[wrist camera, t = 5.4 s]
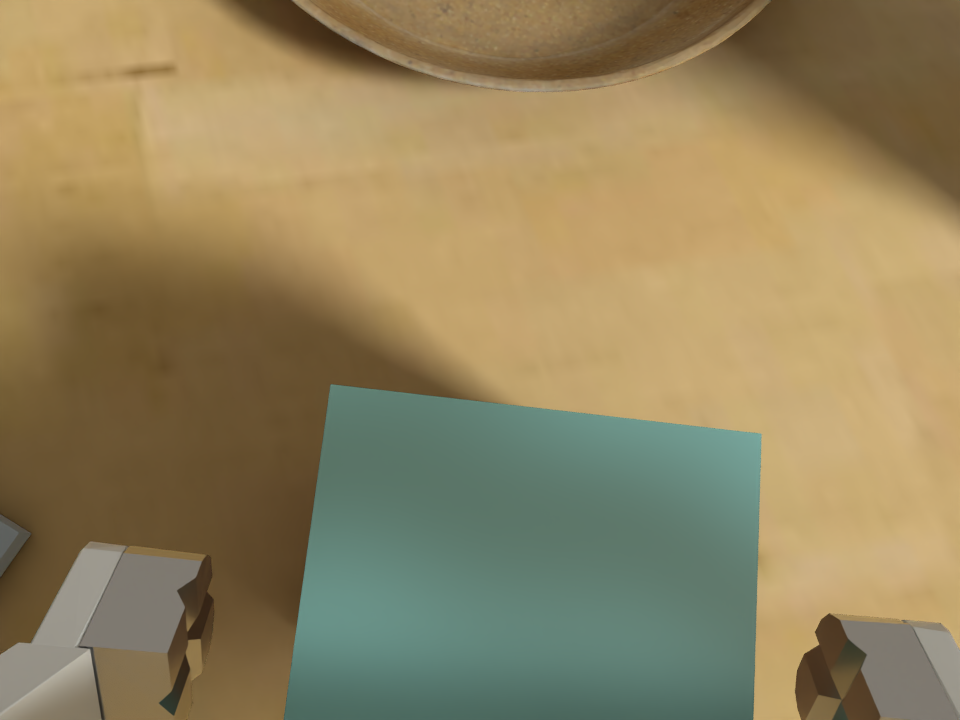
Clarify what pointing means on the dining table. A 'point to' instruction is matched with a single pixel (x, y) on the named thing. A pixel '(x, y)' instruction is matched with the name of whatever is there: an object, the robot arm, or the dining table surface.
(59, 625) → the robot arm
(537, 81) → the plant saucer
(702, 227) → the dining table surface
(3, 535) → the slate mat
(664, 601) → the green and brown block
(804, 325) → the dining table surface
